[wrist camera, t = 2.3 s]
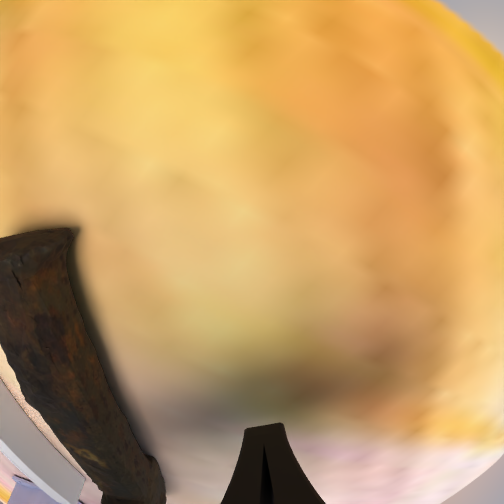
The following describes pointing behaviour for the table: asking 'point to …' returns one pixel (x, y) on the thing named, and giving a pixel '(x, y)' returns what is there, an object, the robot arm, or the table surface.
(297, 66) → the table surface
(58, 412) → the hand tool
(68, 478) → the stop rail
